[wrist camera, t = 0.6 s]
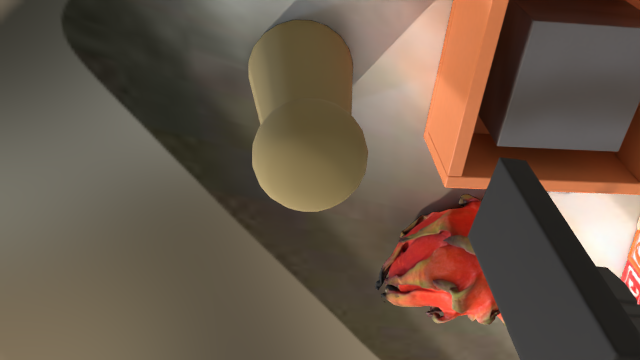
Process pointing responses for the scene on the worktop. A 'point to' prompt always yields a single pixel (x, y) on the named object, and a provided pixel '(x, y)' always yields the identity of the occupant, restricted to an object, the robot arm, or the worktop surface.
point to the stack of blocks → (633, 267)
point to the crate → (473, 137)
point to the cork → (305, 117)
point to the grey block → (564, 75)
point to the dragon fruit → (440, 267)
